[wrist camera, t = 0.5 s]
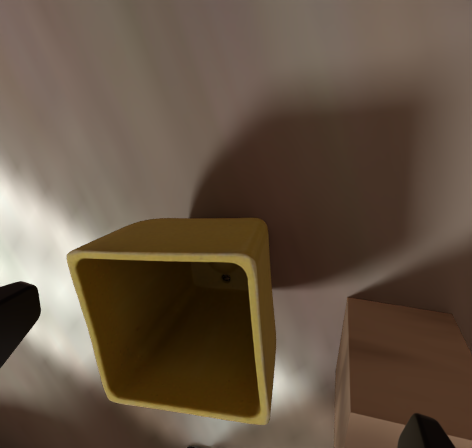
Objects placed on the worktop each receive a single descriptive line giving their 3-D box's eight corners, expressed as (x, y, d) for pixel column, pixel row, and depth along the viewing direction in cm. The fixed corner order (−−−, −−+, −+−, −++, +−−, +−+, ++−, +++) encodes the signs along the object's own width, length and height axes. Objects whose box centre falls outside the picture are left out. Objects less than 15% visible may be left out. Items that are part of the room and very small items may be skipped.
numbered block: (428, 396, 24) (472, 555, 16) (334, 376, 25) (331, 512, 17) (451, 313, 22) (518, 451, 13) (347, 297, 23) (350, 412, 15)
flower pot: (293, 317, 25) (270, 431, 16) (176, 308, 27) (105, 404, 19) (287, 191, 22) (254, 255, 14) (156, 195, 24) (61, 250, 16)
